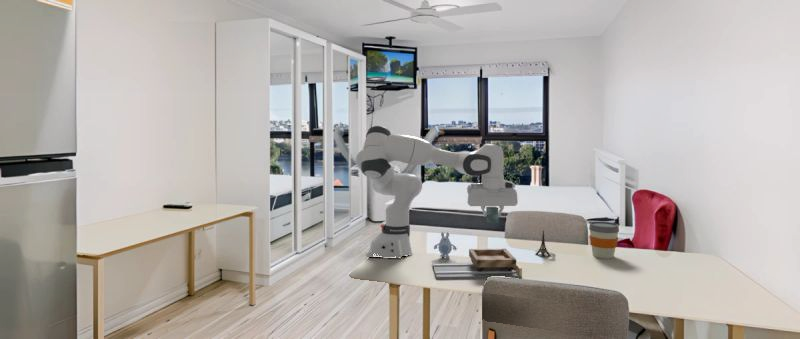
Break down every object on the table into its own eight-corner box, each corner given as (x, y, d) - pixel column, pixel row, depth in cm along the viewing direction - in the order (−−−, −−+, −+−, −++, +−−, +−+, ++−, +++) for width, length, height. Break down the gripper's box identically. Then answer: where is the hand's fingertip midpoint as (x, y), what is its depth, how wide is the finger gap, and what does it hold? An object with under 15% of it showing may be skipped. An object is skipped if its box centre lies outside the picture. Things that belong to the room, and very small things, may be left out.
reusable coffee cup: (611, 252, 206) (612, 221, 205) (622, 260, 194) (623, 227, 192) (584, 251, 207) (585, 221, 206) (593, 259, 195) (594, 227, 194)
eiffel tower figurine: (555, 262, 193) (555, 233, 192) (531, 260, 196) (532, 231, 195) (555, 253, 207) (556, 226, 206) (533, 251, 210) (534, 224, 209)
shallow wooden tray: (476, 273, 171) (476, 260, 171) (469, 261, 187) (469, 249, 187) (516, 272, 172) (516, 259, 171) (505, 261, 188) (505, 248, 187)
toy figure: (432, 259, 197) (432, 233, 196) (434, 255, 203) (434, 230, 202) (455, 260, 195) (456, 234, 194) (457, 256, 201) (457, 231, 200)
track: (436, 279, 170) (436, 269, 170) (432, 265, 188) (432, 256, 188) (521, 278, 171) (522, 268, 170) (509, 264, 189) (509, 255, 188)
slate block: (488, 222, 176) (488, 208, 175) (486, 220, 180) (486, 206, 179) (498, 222, 176) (498, 208, 175) (495, 220, 180) (495, 206, 179)
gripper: (468, 184, 173) (468, 218, 174) (519, 184, 174) (518, 217, 175) (466, 182, 179) (465, 215, 181) (514, 182, 180) (514, 214, 181)
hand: (492, 216), depth 178 cm, fingers closed on slate block, 4 cm apart
